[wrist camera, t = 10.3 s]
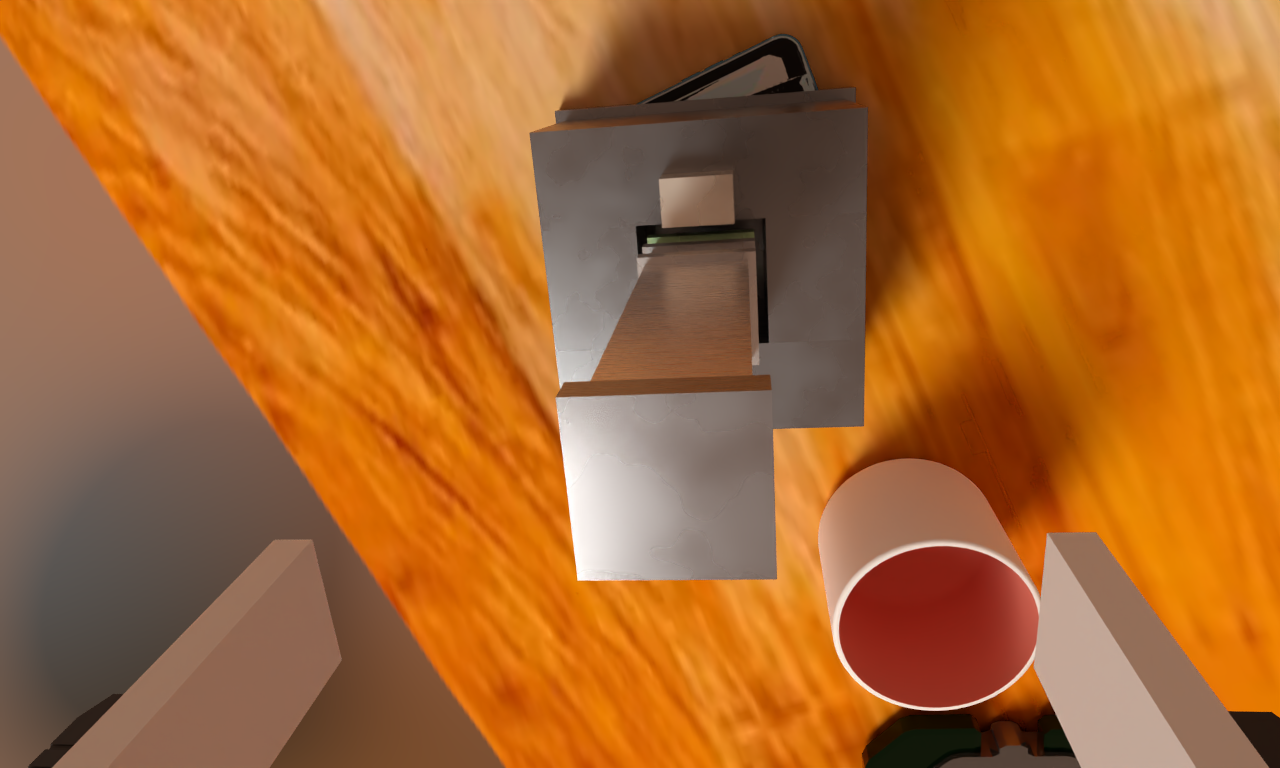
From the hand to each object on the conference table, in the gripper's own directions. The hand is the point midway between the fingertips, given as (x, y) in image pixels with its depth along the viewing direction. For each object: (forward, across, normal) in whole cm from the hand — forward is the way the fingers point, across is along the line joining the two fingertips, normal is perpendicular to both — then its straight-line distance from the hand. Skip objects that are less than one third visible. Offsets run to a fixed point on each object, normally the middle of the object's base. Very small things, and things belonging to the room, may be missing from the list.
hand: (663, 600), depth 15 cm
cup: (+33, +10, -18) cm, 39 cm away
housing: (+33, 0, 0) cm, 33 cm away
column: (+25, 0, 0) cm, 26 cm away
